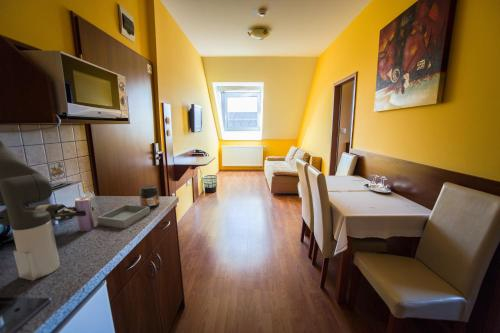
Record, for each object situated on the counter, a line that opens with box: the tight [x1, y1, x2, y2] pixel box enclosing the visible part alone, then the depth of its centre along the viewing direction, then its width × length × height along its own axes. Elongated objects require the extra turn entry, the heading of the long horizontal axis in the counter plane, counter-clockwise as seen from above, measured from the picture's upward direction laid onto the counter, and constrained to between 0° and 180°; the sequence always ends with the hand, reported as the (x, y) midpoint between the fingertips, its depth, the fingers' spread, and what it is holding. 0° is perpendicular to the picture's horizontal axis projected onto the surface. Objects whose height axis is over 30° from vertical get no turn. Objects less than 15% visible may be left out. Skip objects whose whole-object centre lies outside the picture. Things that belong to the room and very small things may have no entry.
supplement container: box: [138, 184, 160, 209], centre depth 132 cm, size 10×10×12 cm
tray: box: [96, 203, 151, 229], centre depth 115 cm, size 18×16×4 cm
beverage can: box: [74, 196, 95, 232], centre depth 103 cm, size 6×6×15 cm
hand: (89, 211), depth 102 cm, fingers closed on beverage can, 5 cm apart
